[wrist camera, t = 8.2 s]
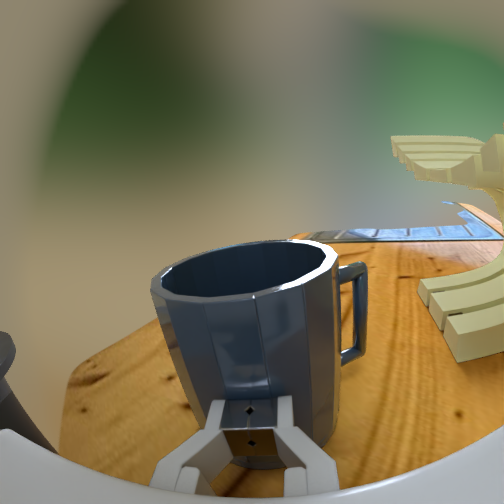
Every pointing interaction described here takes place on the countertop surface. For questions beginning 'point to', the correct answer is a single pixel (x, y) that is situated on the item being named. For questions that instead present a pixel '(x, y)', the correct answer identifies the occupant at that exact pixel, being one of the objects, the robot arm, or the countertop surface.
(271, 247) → the mug
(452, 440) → the countertop surface
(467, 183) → the slatted lounge chair
